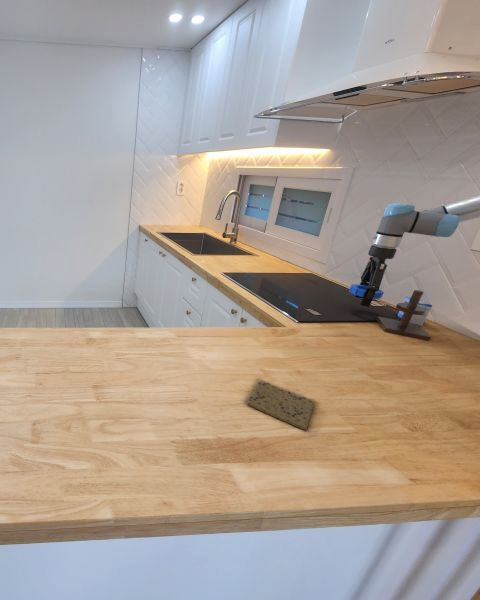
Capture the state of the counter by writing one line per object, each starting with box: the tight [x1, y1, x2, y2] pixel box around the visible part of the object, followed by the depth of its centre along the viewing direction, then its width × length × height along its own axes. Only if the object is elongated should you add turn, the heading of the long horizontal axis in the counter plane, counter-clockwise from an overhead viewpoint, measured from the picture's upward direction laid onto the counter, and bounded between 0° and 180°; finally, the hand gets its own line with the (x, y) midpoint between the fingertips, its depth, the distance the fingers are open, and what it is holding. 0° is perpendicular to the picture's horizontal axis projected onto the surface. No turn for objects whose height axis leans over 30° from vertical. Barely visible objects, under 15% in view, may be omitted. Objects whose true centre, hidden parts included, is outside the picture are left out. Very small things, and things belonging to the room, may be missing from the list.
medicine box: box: [397, 295, 433, 327], centre depth 128 cm, size 8×4×9 cm, turn 164°
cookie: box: [246, 380, 315, 431], centre depth 77 cm, size 12×12×1 cm
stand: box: [375, 289, 431, 342], centre depth 119 cm, size 12×12×15 cm
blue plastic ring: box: [348, 283, 385, 300], centre depth 132 cm, size 10×10×2 cm
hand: (361, 301), depth 133 cm, fingers closed on blue plastic ring, 10 cm apart
